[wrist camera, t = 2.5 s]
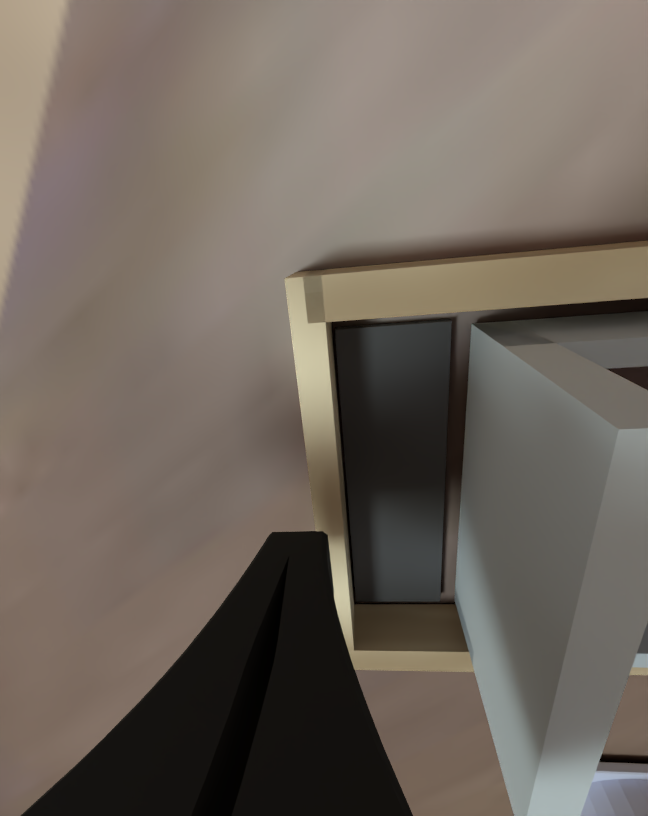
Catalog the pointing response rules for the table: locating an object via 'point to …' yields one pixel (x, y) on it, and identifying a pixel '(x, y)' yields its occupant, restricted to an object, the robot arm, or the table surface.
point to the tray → (554, 543)
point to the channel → (410, 424)
